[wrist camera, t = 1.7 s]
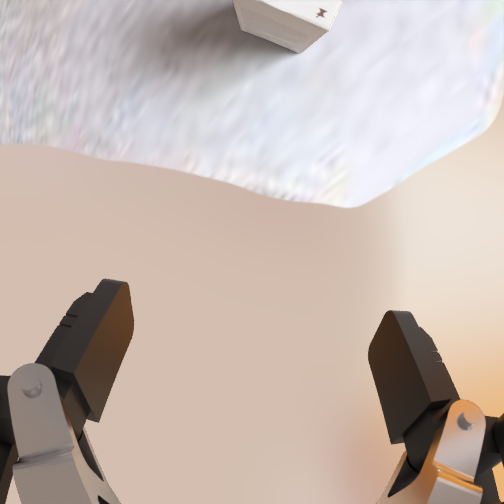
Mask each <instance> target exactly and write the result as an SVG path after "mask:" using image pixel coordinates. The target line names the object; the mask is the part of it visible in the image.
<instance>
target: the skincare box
mask: <svg viewBox="0 0 504 504" xmlns="http://www.w3.org/2000/svg"><path fill="white" fill-rule="evenodd" d="M232 1H233V4H234V7H235V11H236V14H237V18H238V22H239V25H240V29H241V30H242V31H245V32H247V33H250V34H253V35H256V36H258V37H261V38H263V39H266V40H268V41H271V42H274V43H276V44H278V45H281V46H283V47H286V48H288V49H290V50H293V51H295V52H297V53H299V54H301V53H302V52H303V51H304V50H306V49H307V48H308V47H309V46H310V45H312V44H313V43H314V42H315V41H317V40H318V39H319V38H320V37H321V36H322V35H324V34H325V33H327V32H328V31H329V30H330V28H331V26H332V24H333V21H334V19H335V17H336V15H337V13H338V11H339V9H340V7H341V5H342V3H343V1H344V0H232Z"/></svg>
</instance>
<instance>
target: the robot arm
mask: <svg viewBox="0 0 504 504" xmlns="http://www.w3.org/2000/svg"><path fill="white" fill-rule="evenodd" d="M133 330H134V317H133V311H132V305H131V297H130V290H129V285H128V283H127V282H123V281H117V280H110V279H103V280H102V281H101V282H100V283H99V285H98V286H97V288H96V289H95V291H94V292H93V293H89V292H86V293H85V294H84V295H82V296H81V297H79V298H78V299H77V300H75V301H74V302H73V304H72V305H71V307H70V308H69V310H68V311H67V313H66V316H64V317H63V319H62V320H61V322H60V325H59V326H57V328H56V329H55V331H54V333H53V334H52V336H51V337H50V339H49V340H48V342H47V343H46V345H45V347H44V349H43V350H42V352H41V353H40V355H39V357H38V358H37V360H36V361H35V363H30V364H26V365H23V366H21V367H20V368H18V369H17V370H16V371H15V372H14V373H13V374H12V375H11V376H0V504H5V502H6V498H7V494H8V490H9V487H10V483H11V480H12V476H13V475H14V480H15V483H16V487H17V490H18V494H19V497H20V500H21V503H22V504H121V503H120V501H119V500H118V498H117V497H116V495H115V494H114V492H113V490H112V489H111V488H110V486H109V484H108V482H107V480H106V478H105V476H104V474H103V471H102V469H101V467H100V465H99V462H98V460H97V458H96V455H95V453H94V450H93V448H92V445H91V443H90V440H89V438H88V435H87V433H86V430H85V428H84V424H85V422H86V419H88V420H92V421H95V422H99V421H100V418H101V415H102V412H103V410H104V407H105V404H106V401H107V399H108V396H109V394H110V391H111V388H112V386H113V383H114V381H115V378H116V375H117V373H118V370H119V368H120V365H121V363H122V360H123V358H124V356H125V353H126V351H127V348H128V346H129V343H130V341H131V339H132V335H133ZM437 351H438V350H437V348H436V346H435V344H434V342H433V340H432V338H431V337H430V336H429V335H428V334H427V333H426V332H425V331H424V330H423V329H422V328H421V327H419V326H418V324H417V322H416V321H415V319H414V317H413V315H412V313H411V312H408V311H392V310H390V311H387V312H386V313H385V315H384V317H383V319H382V321H381V323H380V325H379V327H378V329H377V331H376V333H375V335H374V338H373V339H372V341H371V343H370V346H369V351H368V360H369V364H370V368H371V371H372V374H373V378H374V381H375V385H376V388H377V392H378V396H379V399H380V403H381V406H382V410H383V414H384V418H385V422H386V426H387V430H388V434H389V438H390V442H391V444H398V443H405V447H406V451H405V452H404V453H403V455H402V457H401V459H400V461H399V463H398V465H397V467H396V469H395V471H394V473H393V475H392V477H391V479H390V481H389V483H388V485H387V487H386V489H385V491H384V492H383V494H382V496H381V498H380V499H379V501H378V502H377V503H376V504H504V502H501V501H500V499H499V496H498V491H497V487H496V483H495V479H494V475H493V471H492V468H493V467H494V466H496V465H497V464H499V463H500V462H501V461H502V463H503V466H504V413H503V414H502V416H500V417H499V418H497V417H490V416H484V414H483V412H482V411H481V409H480V408H479V407H478V406H477V405H476V404H475V403H473V402H471V401H469V400H461V399H460V398H459V395H458V393H457V391H456V388H455V386H454V384H453V382H452V380H451V377H450V375H449V373H448V371H447V369H446V367H445V364H444V363H442V358H441V356H440V354H439V353H437ZM18 457H19V460H18ZM17 460H18V461H17Z"/></svg>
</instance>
